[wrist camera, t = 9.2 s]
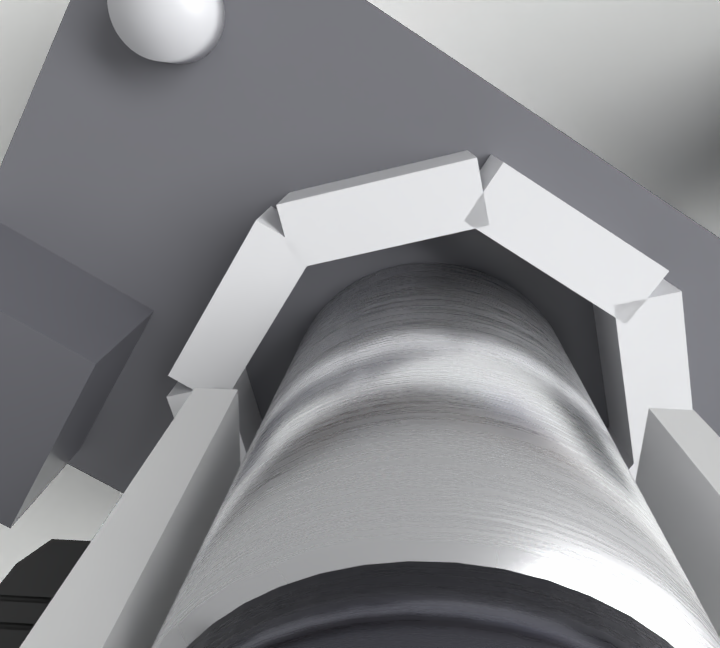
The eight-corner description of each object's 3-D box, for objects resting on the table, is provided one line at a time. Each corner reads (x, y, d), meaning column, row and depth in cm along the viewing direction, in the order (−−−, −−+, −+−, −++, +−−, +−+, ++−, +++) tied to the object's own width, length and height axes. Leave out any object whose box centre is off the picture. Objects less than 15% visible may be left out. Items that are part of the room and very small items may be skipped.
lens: (551, 524, 15) (750, 1200, 6) (292, 505, 16) (101, 1105, 6) (588, 269, 13) (967, 684, 4) (290, 255, 14) (13, 598, 5)
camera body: (679, 237, 21) (949, 373, 11) (463, 508, 25) (513, 805, 15) (236, -58, 19) (53, -235, 9) (70, 285, 23) (-200, 445, 12)
